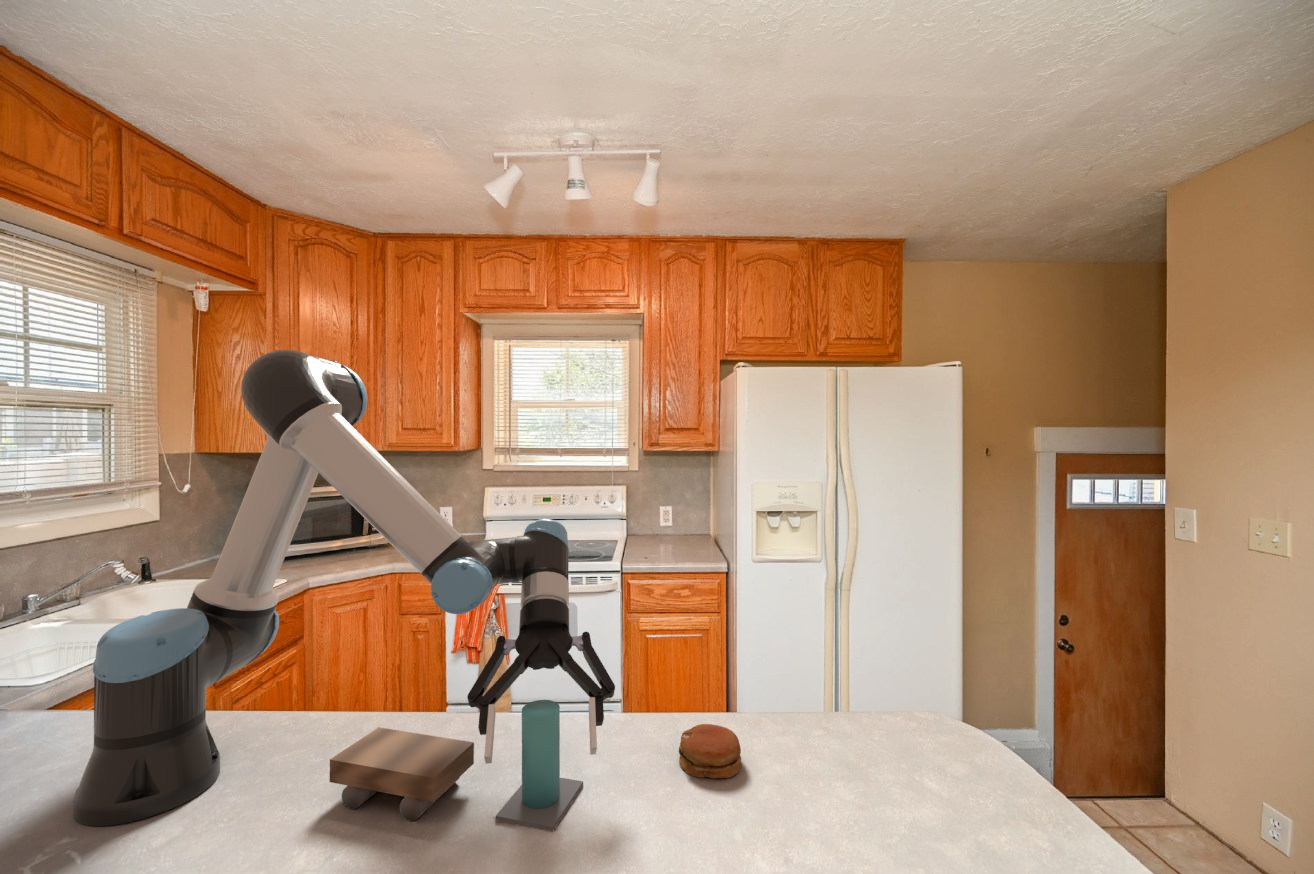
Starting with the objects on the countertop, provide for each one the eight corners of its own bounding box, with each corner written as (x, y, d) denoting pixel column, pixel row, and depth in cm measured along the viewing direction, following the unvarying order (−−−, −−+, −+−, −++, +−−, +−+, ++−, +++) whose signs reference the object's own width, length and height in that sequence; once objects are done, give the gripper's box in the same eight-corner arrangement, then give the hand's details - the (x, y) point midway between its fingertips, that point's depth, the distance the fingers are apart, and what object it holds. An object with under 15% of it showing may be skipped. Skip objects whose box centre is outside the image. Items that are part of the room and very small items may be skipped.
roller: (515, 805, 76) (514, 714, 76) (532, 783, 80) (532, 698, 80) (550, 811, 74) (550, 719, 74) (565, 788, 79) (565, 702, 79)
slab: (329, 804, 76) (329, 759, 77) (378, 767, 85) (378, 727, 85) (433, 825, 72) (433, 778, 72) (473, 784, 81) (473, 742, 81)
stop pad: (495, 820, 74) (495, 815, 74) (531, 776, 83) (531, 772, 83) (552, 831, 71) (552, 826, 72) (583, 785, 81) (583, 781, 81)
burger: (752, 776, 84) (752, 744, 84) (692, 787, 81) (692, 754, 81) (724, 743, 93) (724, 714, 93) (670, 752, 91) (670, 722, 91)
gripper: (621, 616, 95) (632, 756, 80) (464, 623, 91) (445, 773, 76) (625, 592, 90) (638, 737, 75) (459, 599, 86) (438, 754, 71)
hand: (541, 755), depth 75 cm, fingers open, 13 cm apart
